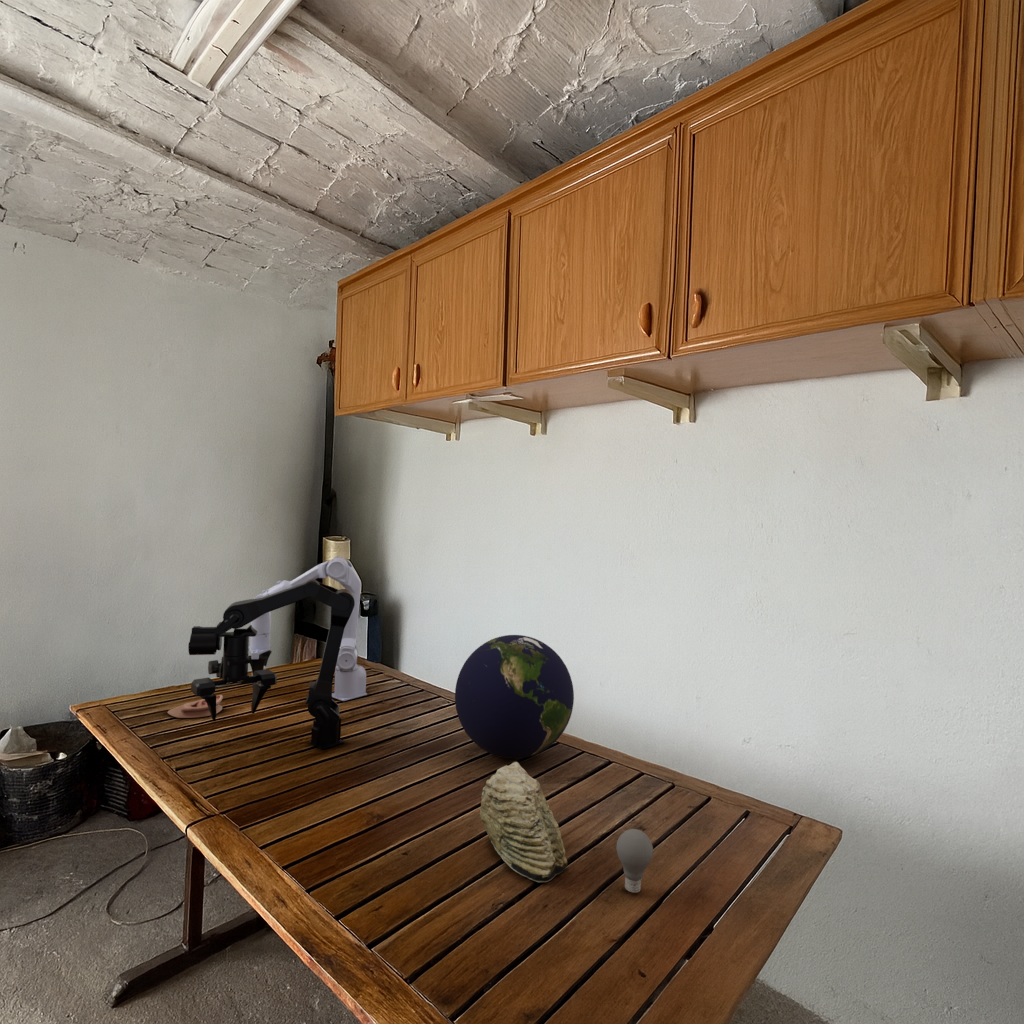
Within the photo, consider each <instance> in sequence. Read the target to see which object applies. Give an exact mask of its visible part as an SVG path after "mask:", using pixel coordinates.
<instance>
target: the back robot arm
mask: <svg viewBox="0 0 1024 1024" xmlns="http://www.w3.org/2000/svg"><path fill="white" fill-rule="evenodd" d="M328 577H329V578H330V579H332V580H334V581H335V582H338V583H339V584H340V585H341V586H342V587H343V589H347V590H349V591H350V592H351V593H352V594H353V596H354V601H355V606H354V609H353V611H352V613H351V616H350V618H349V620H348V622H347V624H346V626H345V629H344V633H343V637H342V641H341V646H340V650H339V655H338V659H337V663H336V668H335V672H334V691H333V692H332V699H336V700H339V701H341V702H346V701H350V700H353V699H358V698H361V697H364V696H368V693H367V692H366V691H367V671H366V668H364V667H363V666H362V665H359V664H358V663H357V662H358V657H359V649H358V648H357V636H358V635H357V634H358V623H359V612H360V601H361V590H362V581H361V579H360V577H359V575H358V574H357V572H356V569H355V568H354V566H353V564H352V563H351V562H350V561H349V560H348V559H347V558H345V557H343V556H335V557H333V558H332V559H331V560H330V559H328V560H326V561H324V562H322V563H318V564H317V565H315V566H313V567H312V568H310V569H308V570H307V571H305V572H304V573H302V574H300V575H299V576H297V577H295V578H294V579H292V580H286V579H284V580H278V581H276V582H275V585H273V586H271V587H270V588H268V589H263V590H262V591H261V593H259V594H257V595H256V596H254V597H253V598H252V599H258V598H263V597H266V596H268V595H271V594H274V593H277V592H280V591H282V590H285V589H288V588H291V587H294V586H296V585H299V584H302V583H305V582H307V581H308V580H311V579H313V580H317V579H327V578H328ZM271 614H272V611H270V612H267V613H265V614H263V615H261V616H260V617H258V618H257V619H255V620H253V621H252V622H250V625H252V627H253V628H254V629H255V630H257V631H258V633H257V635H256V636H254V637H250V638H249V652H250V653H251V655H248V658H249V659H250V663H249V665H250V668H251V675H252V674H253V673H254V671H258V670H263V668H264V666H266V667H267V665H268V662H269V659H270V656H271V655H272V651H273V650H271V647H272V646H271V633H272V631H271V630H272V629H271V628H272V616H271Z"/></svg>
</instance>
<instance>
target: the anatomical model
mask: <svg viewBox="0 0 1024 1024" xmlns="http://www.w3.org/2000/svg"><path fill="white" fill-rule="evenodd" d="M223 698H224V696H223V695H222V694H219V695H218V694H217V695H216V714H218V713H220V712H221V711H222V710H223V706H222V705H221V702H222V700H223ZM167 714H168V715H170V716H172V717H174V718H179V719H194V718H203V717H204V718H205V717H208V716H211V714H210V711H209V708H208V705H207V703H206V701H205V699H202V698H201V699H198V700H195V701H191V702H186V703H183V704H182V705H181V704H180V705H178V706H175V707H173V708H171V709H169V710H168V711H167Z"/></svg>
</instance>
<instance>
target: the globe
mask: <svg viewBox="0 0 1024 1024" xmlns="http://www.w3.org/2000/svg"><path fill="white" fill-rule="evenodd" d="M454 690H455V691H454V703H455V704H454V705H455V710H456V715H457V718H458V720H459V723H460V725H461V727H462V729H463V731H464V732H465V733H466V735H467V736H468V737H469V739H470V740H471V741H472V742H473V743H474V744H475V745H476V746H478V747H479V748H481V749H482V750H483V751H485V752H487V753H488V754H491V755H493V756H495V757H499V758H503V759H509V760H517V759H526V758H530V757H534V756H536V755H538V754H541V753H542V752H544V751H546V750H547V749H549V748H551V747H552V746H553V745H554V744H555V743H556V742H557V741H558V739H560V738H561V736H563V733H564V732H565V730H566V728H567V727H568V724H569V722H570V719H571V717H572V714H573V710H574V709H573V708H574V701H575V692H574V691H575V690H574V684H573V680H572V676H571V673H570V672H569V669H568V666H567V665H566V664H565V662H564V661H563V659H562V658H561V657H560V655H559V654H558V653H557V652H556V651H555V650H554V649H553V648H552V647H550V646H549V645H548V644H546V643H545V642H543V641H541V640H539V639H537V638H534V637H532V636H527V635H522V634H508V635H500V636H497V637H493V638H491V639H490V640H488V641H485V642H484V643H483V644H481V645H479V646H478V647H476V648H475V650H474V651H472V653H471V654H470V655H469V656H468V657H467V659H466V660H465V661H464V663H463V665H462V667H461V668H460V671H459V673H458V676H457V679H456V683H455V689H454Z"/></svg>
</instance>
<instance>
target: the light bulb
mask: <svg viewBox="0 0 1024 1024" xmlns="http://www.w3.org/2000/svg"><path fill="white" fill-rule="evenodd" d="M615 849H616V854H617V857H618V859H619V861H620V863H621V865H622V867H623V873H624V874H623V875H624V876H625V878H624V888H625V890H627V891H628V892H630V893H634V894H635V893H639V892H640V891H641V889H642V887H641V886H642V879H643V877H644V875H645V871H646V868H647V867H648V866H649V864H650V863H651V861H652V859H653V855H654V847H653V843H652V841H651V838H649V836H648V835H647V834H646V833H645V832H643V831H642V830H641V829H636V828H629V829H627V830H625V831H623V832H622V833H621V834H620V835H619V837H618V839H617V841H616V847H615Z"/></svg>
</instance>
